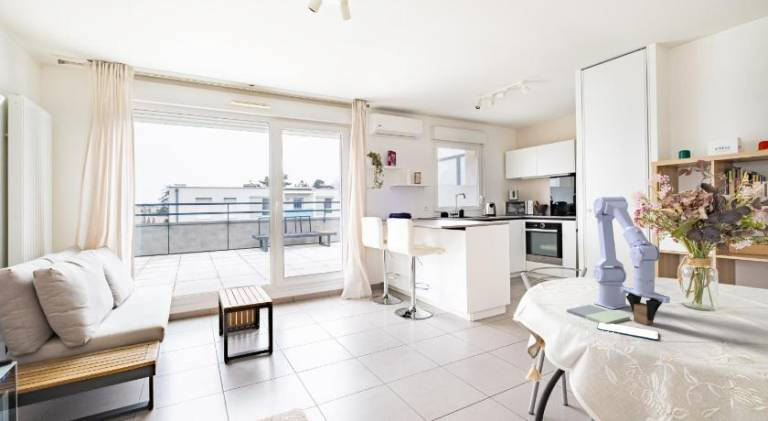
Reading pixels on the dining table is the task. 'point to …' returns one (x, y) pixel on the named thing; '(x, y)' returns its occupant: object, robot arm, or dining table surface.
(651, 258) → the robot arm
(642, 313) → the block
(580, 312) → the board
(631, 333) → the smartphone
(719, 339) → the dining table surface
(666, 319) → the dining table surface
